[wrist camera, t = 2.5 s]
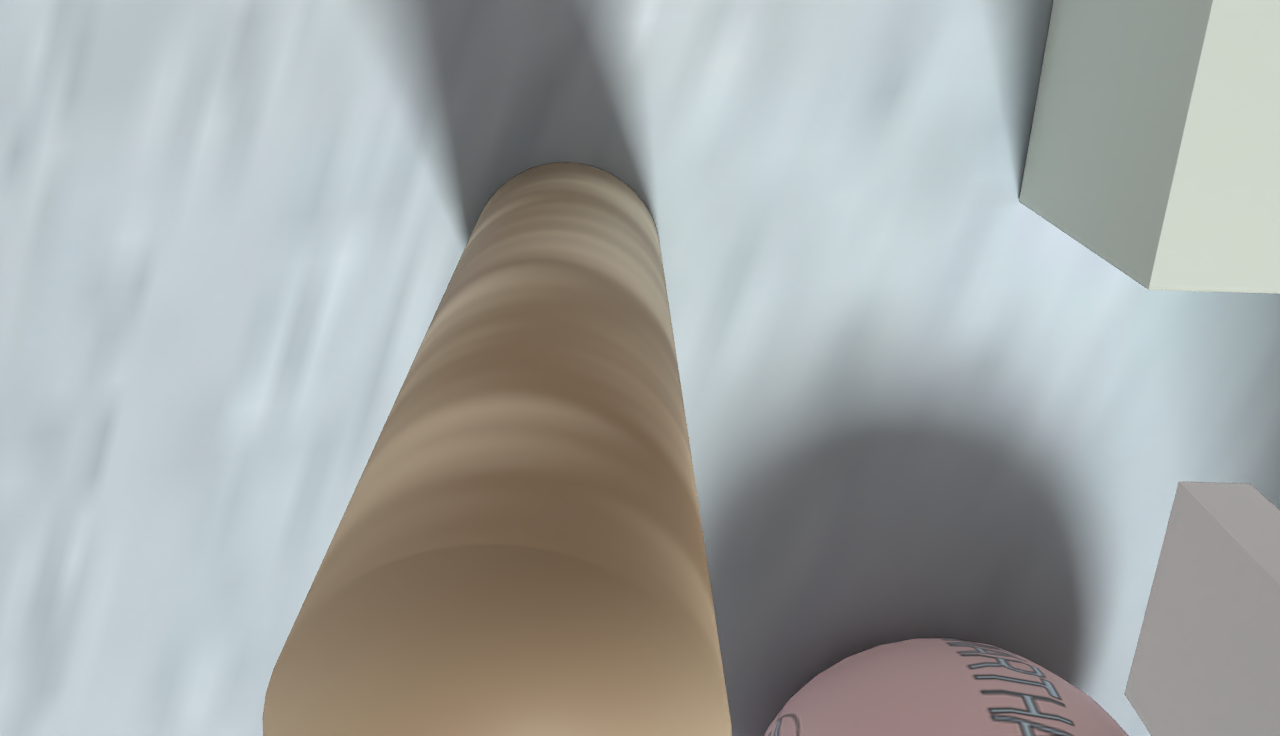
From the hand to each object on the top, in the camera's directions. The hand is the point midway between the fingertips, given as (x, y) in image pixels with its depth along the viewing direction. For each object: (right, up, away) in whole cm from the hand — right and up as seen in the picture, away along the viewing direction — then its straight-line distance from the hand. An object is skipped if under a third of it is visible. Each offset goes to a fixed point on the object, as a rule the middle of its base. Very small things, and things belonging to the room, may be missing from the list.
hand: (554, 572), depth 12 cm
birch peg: (-1, +5, +12) cm, 13 cm away
